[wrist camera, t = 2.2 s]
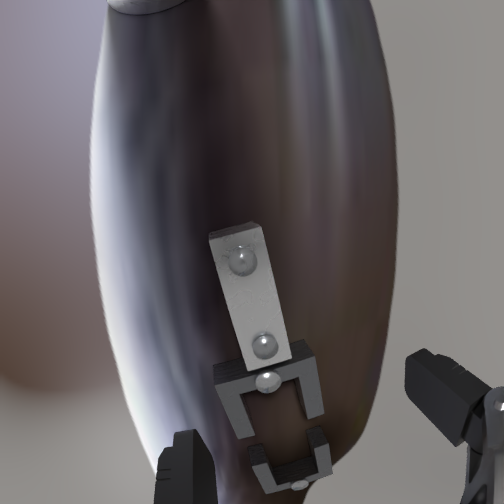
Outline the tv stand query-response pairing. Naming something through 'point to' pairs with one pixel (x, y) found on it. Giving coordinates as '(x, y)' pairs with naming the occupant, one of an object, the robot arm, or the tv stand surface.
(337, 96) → the tv stand surface
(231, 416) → the end link
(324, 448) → the end link
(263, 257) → the bolted link plate
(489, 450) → the robot arm
